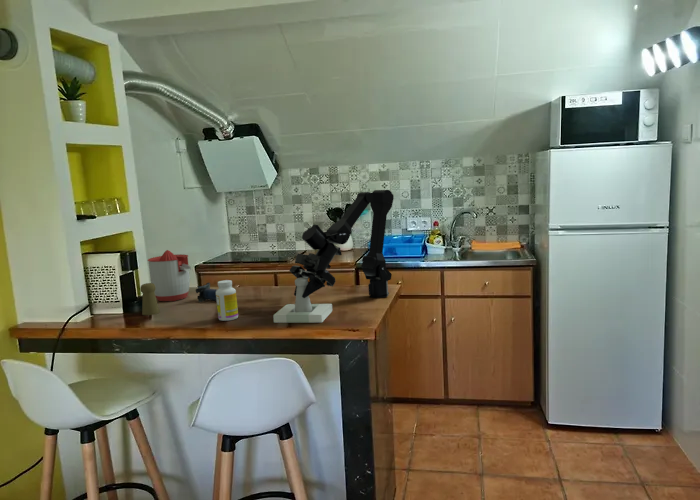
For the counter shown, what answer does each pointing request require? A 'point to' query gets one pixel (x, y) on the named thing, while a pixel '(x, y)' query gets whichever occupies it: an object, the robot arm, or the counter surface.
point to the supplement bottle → (226, 301)
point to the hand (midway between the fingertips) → (299, 296)
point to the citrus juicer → (170, 276)
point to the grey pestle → (301, 302)
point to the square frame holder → (302, 314)
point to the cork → (149, 299)
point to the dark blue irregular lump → (206, 293)
